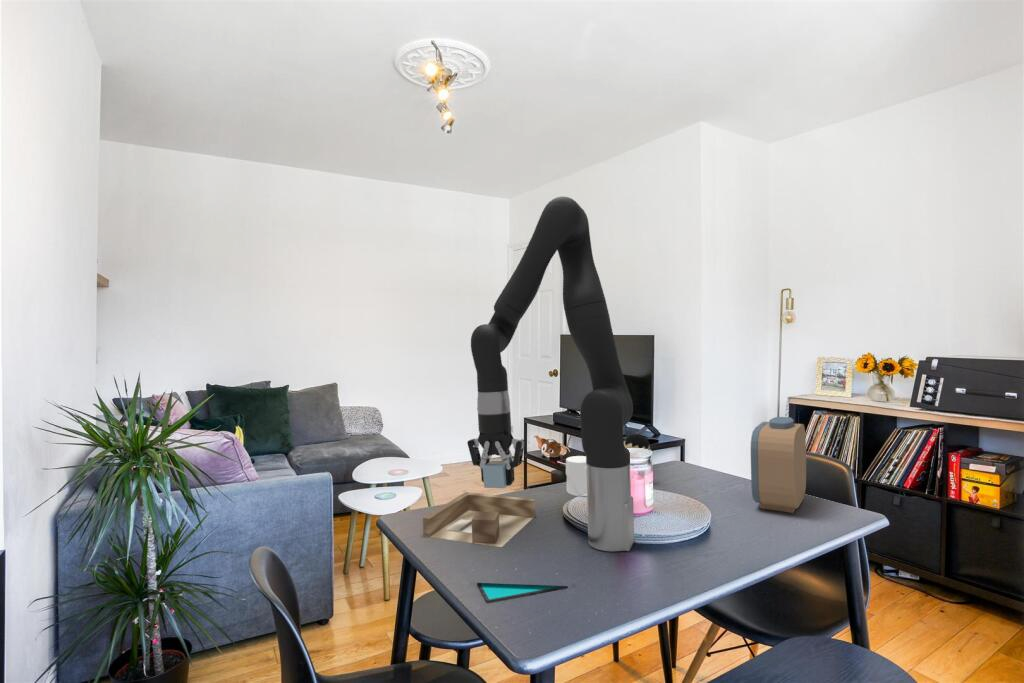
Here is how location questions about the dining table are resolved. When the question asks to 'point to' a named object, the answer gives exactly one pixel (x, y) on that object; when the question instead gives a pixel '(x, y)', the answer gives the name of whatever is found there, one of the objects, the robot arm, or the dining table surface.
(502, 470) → the block
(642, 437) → the toy
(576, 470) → the mug
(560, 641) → the dining table surface
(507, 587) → the flat teal bar
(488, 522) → the walnut block
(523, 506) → the tray
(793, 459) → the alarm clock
